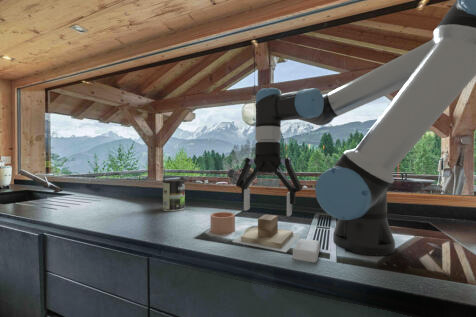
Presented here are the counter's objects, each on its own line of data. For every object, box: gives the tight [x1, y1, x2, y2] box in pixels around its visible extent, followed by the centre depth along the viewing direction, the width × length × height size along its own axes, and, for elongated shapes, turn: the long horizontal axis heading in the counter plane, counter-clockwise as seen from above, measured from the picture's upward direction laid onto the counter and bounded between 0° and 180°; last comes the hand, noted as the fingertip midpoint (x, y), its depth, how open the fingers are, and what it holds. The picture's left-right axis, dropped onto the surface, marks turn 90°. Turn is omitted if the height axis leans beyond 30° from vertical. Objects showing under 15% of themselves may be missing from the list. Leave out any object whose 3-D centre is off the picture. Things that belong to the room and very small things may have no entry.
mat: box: [231, 226, 302, 253], centre depth 70 cm, size 16×16×1 cm
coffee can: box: [162, 178, 186, 212], centre depth 112 cm, size 10×10×14 cm
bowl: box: [210, 211, 236, 235], centre depth 78 cm, size 8×8×6 cm
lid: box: [240, 214, 294, 248], centre depth 70 cm, size 12×12×6 cm
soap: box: [292, 237, 321, 263], centre depth 58 cm, size 9×6×3 cm, turn 155°
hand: (267, 212), depth 70 cm, fingers open, 13 cm apart
